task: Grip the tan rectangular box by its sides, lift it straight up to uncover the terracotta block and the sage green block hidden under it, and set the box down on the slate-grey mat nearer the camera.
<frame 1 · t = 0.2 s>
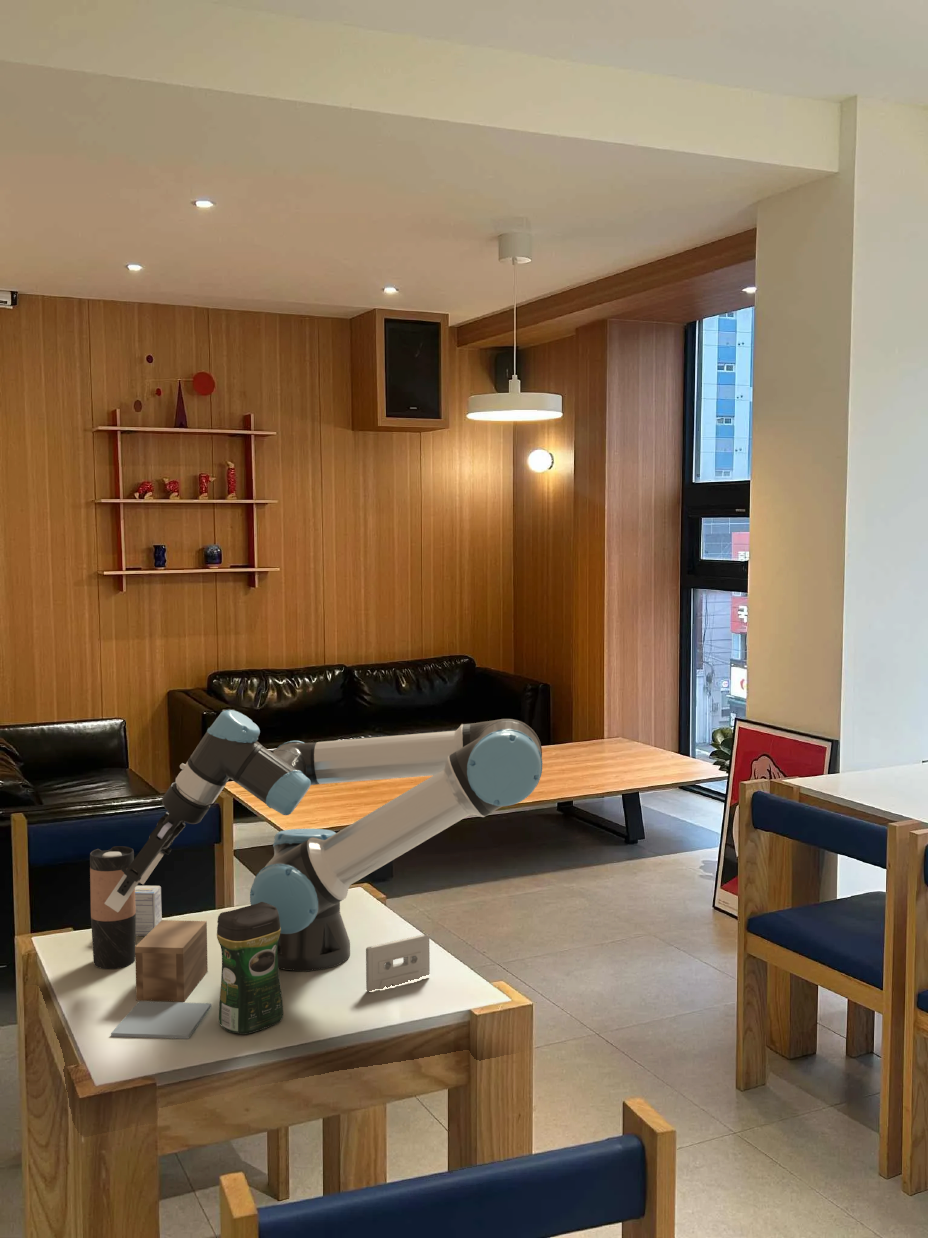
hand: (124, 893, 196), 15 cm above the table, tool tilted 35°, fingers open, 13 cm apart
sage green block: (168, 992, 192), on the table
coffee jar: (250, 1025, 180), on the table
cassette: (398, 986, 195), on the table
medicine box: (138, 934, 221), on the table
tan rectangular box: (173, 985, 195), on the table
slate mat: (162, 1021, 181), on the table
travel mug: (114, 962, 206), on the table
terracotta block: (178, 980, 198), on the table
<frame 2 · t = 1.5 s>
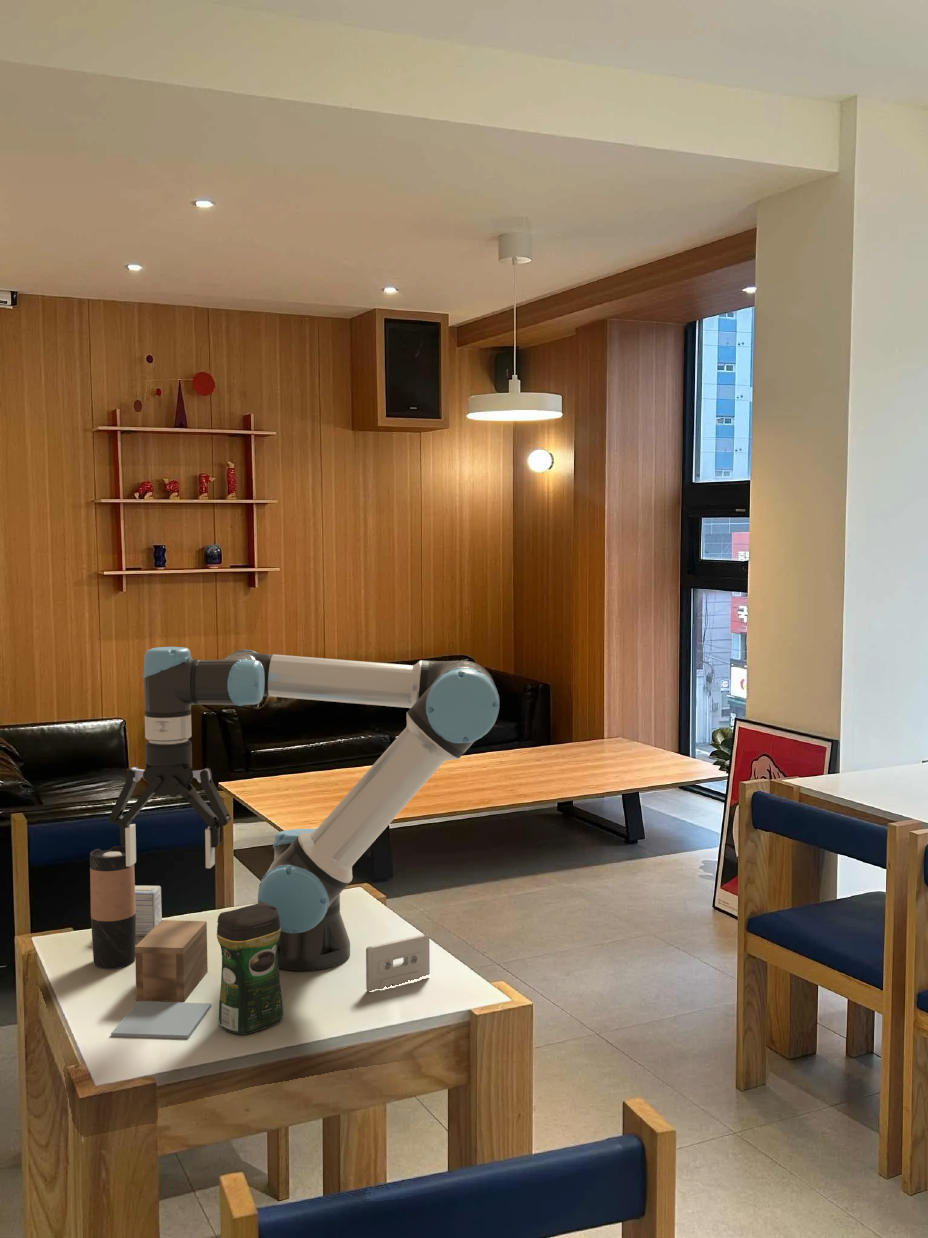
hand: (170, 865, 193), 21 cm above the table, tool pointing down, fingers open, 13 cm apart
nothing on the table moved.
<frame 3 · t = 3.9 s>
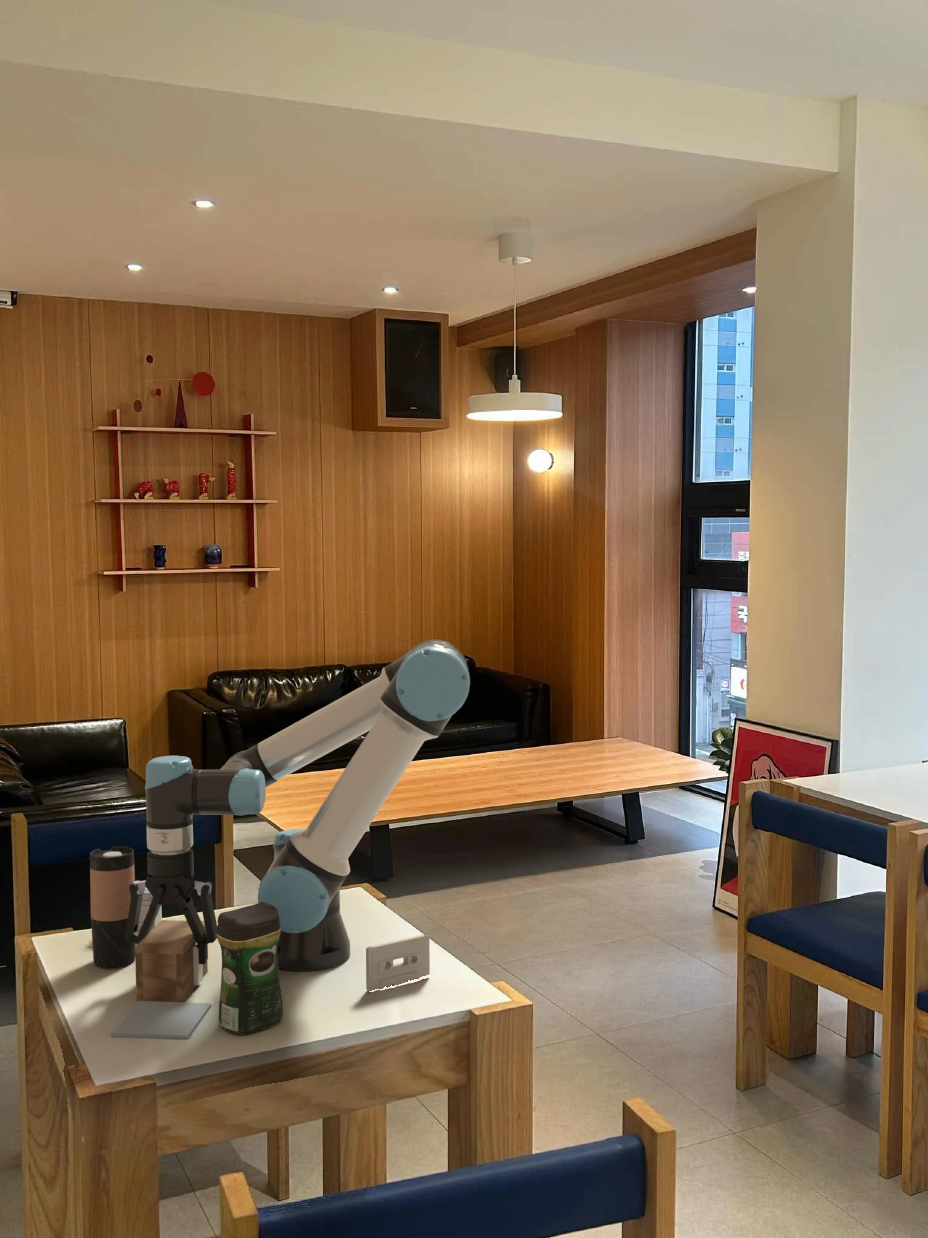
hand: (173, 981, 195), 1 cm above the table, tool pointing down, fingers closed on tan rectangular box, 8 cm apart
tan rectangular box: (173, 985, 195), on the table, touching gripper
everything else where it was.
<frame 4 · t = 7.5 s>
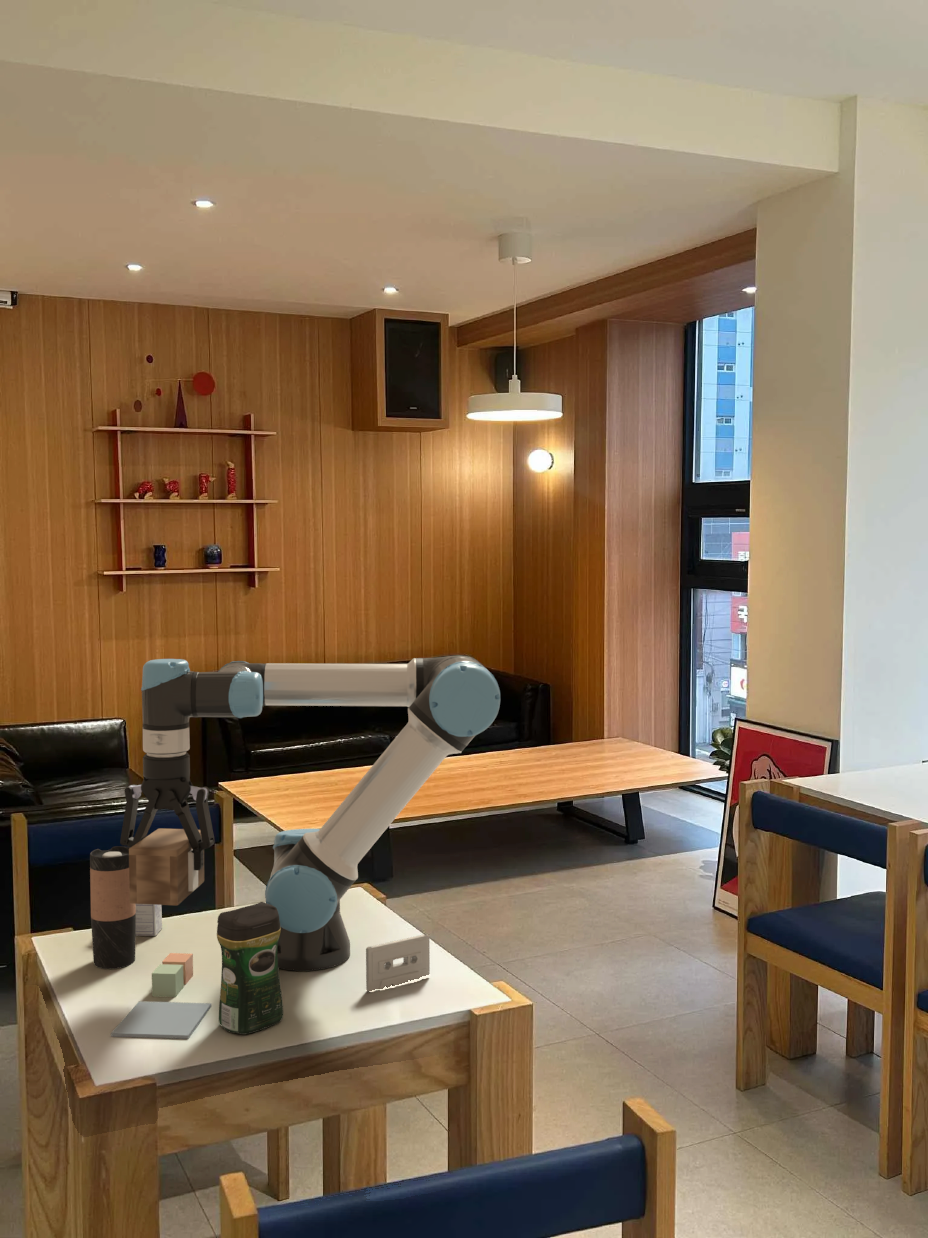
hand: (168, 887, 192), 17 cm above the table, tool pointing down, fingers closed on tan rectangular box, 8 cm apart
tan rectangular box: (168, 892, 192), point 17 cm above the table, touching gripper
everything else where it was.
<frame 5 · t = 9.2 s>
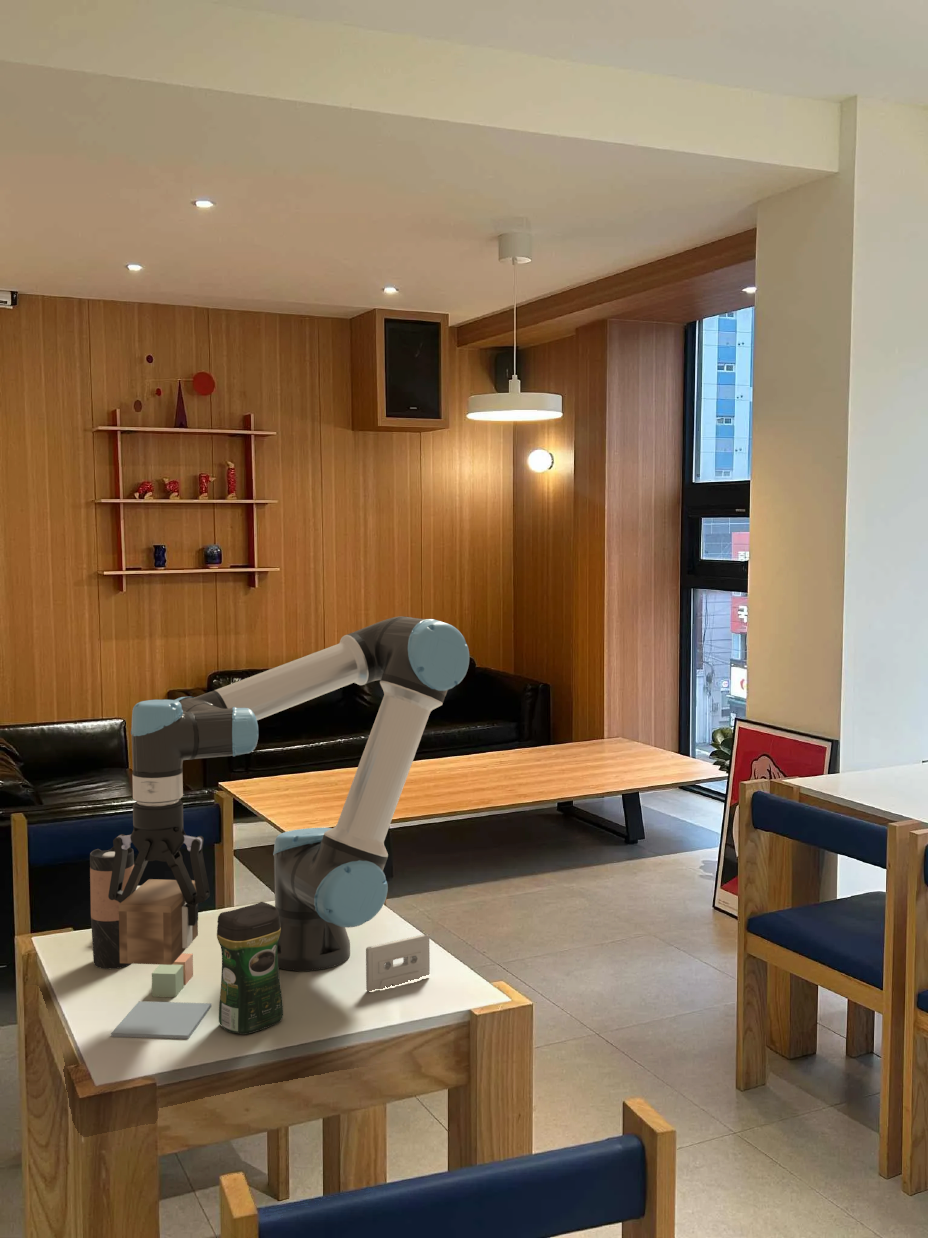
hand: (160, 944, 180), 12 cm above the table, tool pointing down, fingers closed on tan rectangular box, 8 cm apart
tan rectangular box: (160, 948, 180), point 12 cm above the table, touching gripper
everything else where it was.
when the fingers open (3 cm above the table, at t = 11.0 s): tan rectangular box drops 1 cm, resting on slate mat.
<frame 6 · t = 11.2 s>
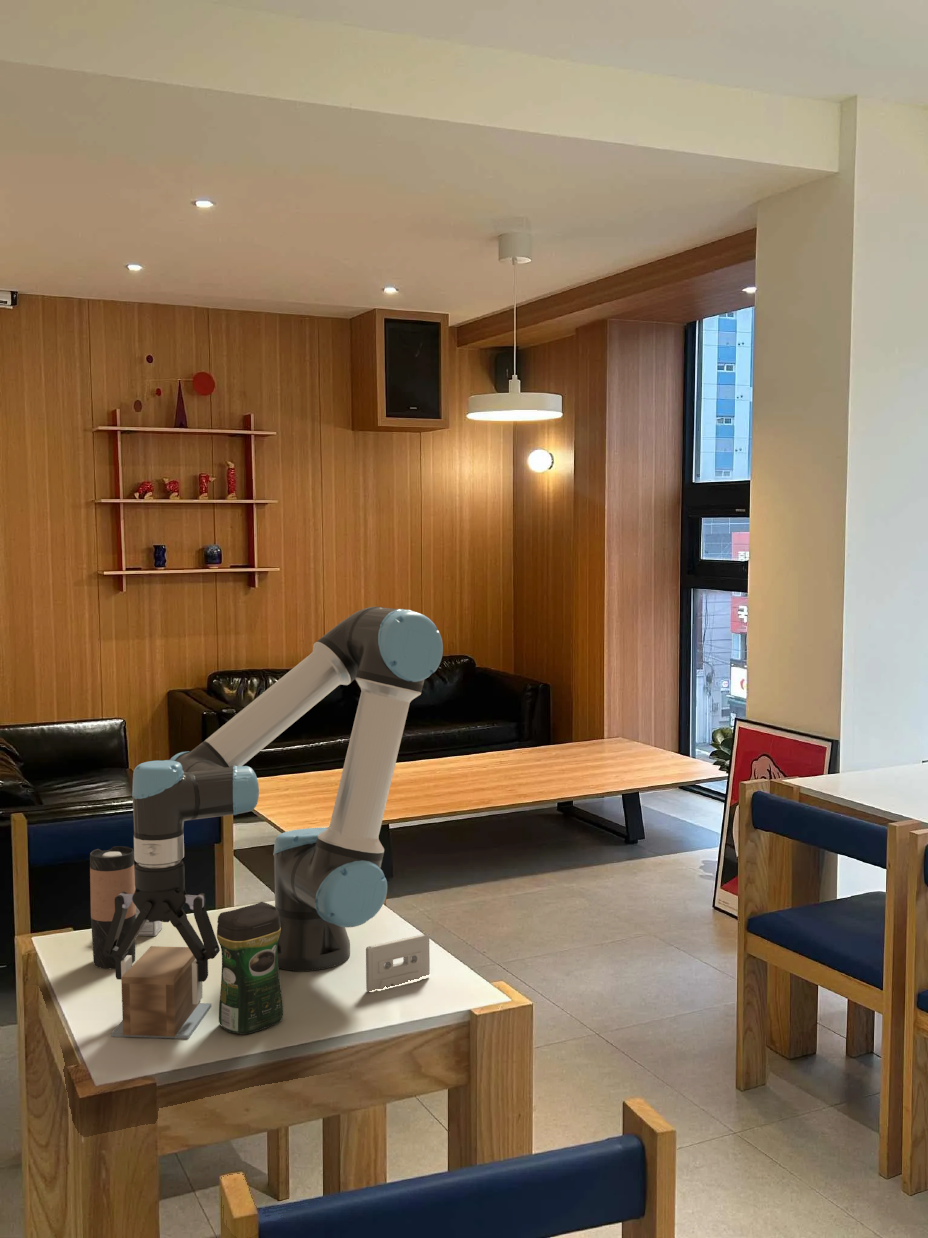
hand: (162, 1000, 181), 3 cm above the table, tool pointing down, fingers open, 10 cm apart
tan rectangular box: (163, 1017, 181), resting on slate mat
everything else where it was.
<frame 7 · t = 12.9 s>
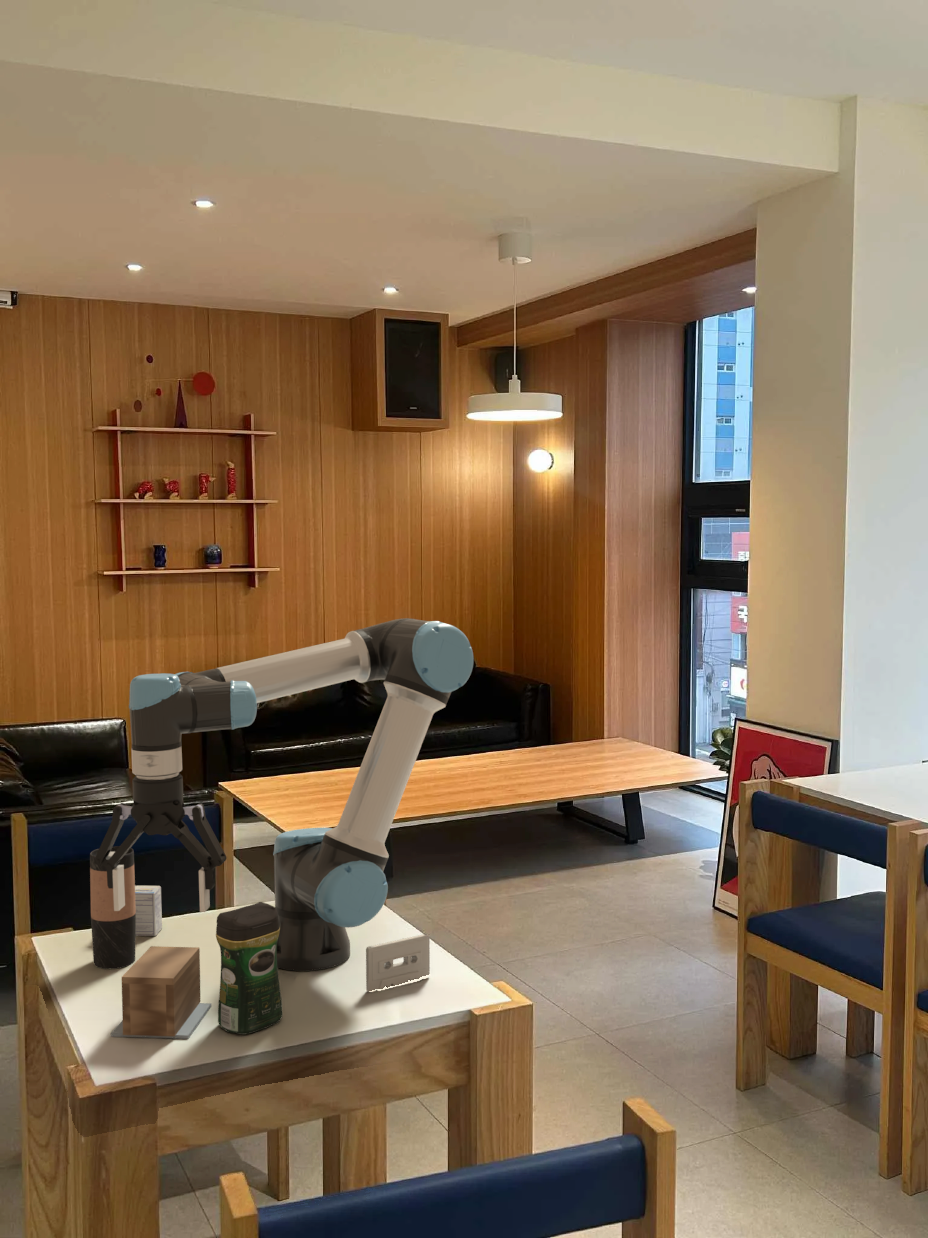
hand: (162, 909, 180), 18 cm above the table, tool pointing down, fingers open, 13 cm apart
nothing on the table moved.
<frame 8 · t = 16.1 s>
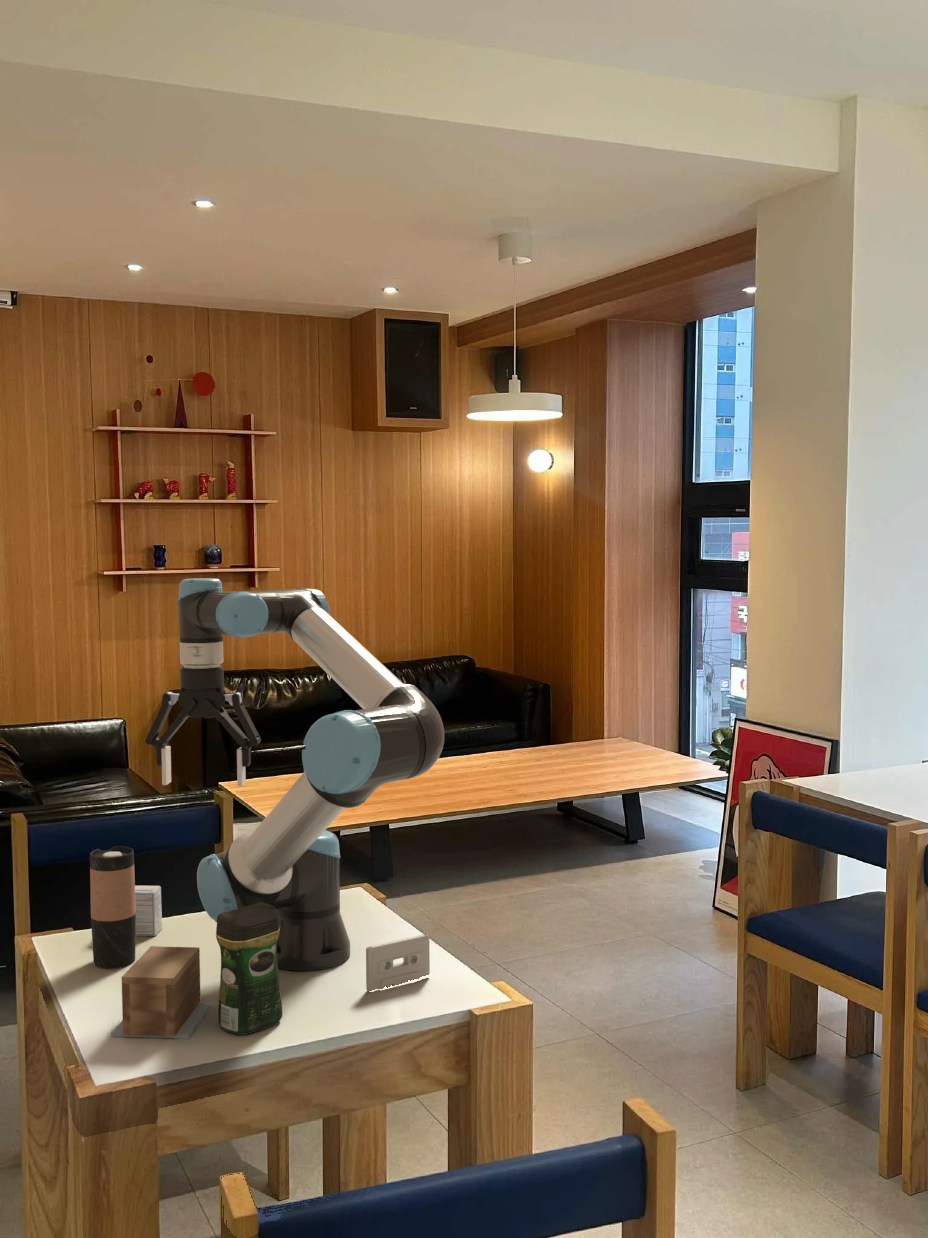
hand: (204, 784, 205), 32 cm above the table, tool pointing down, fingers open, 13 cm apart
nothing on the table moved.
at the end: tan rectangular box 0.0 cm off-centre on the slate mat, point 0.5 cm above the slate mat's base; tan rectangular box tilted 0°; the gripper is holding nothing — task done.
